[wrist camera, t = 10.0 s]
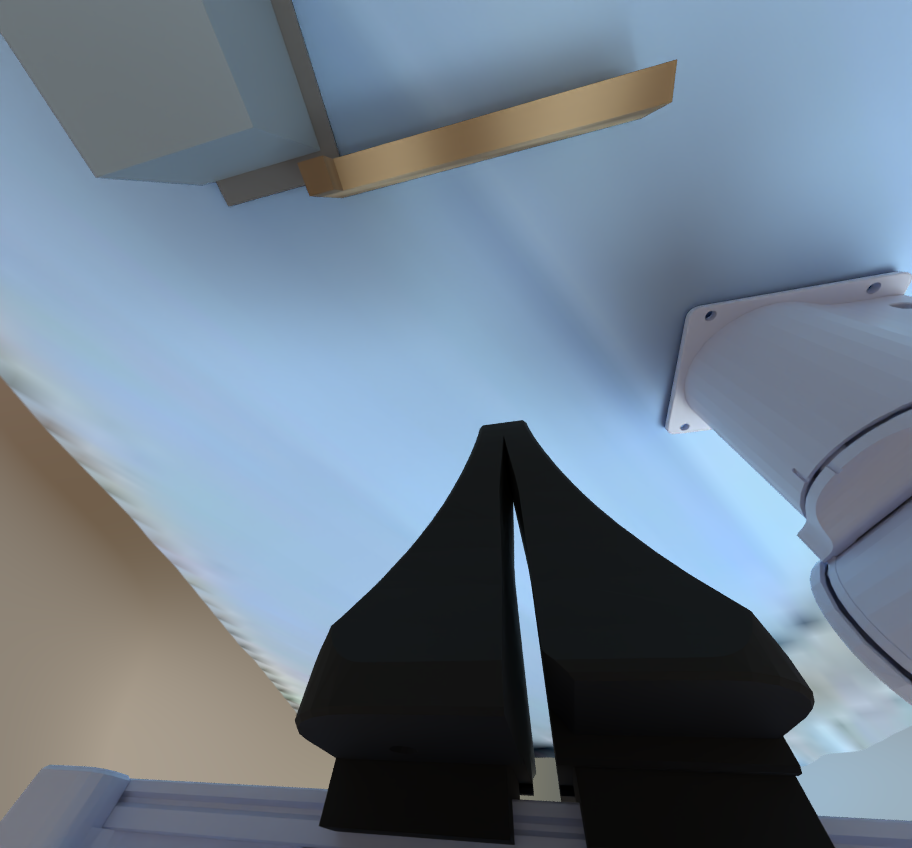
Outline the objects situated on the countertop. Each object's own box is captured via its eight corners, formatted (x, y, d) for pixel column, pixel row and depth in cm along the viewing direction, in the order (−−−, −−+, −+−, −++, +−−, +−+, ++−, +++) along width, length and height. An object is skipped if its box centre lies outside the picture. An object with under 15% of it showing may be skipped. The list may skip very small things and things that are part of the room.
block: (266, -12, 11) (146, -134, 7) (320, 150, 14) (253, 127, 10) (129, 43, 12) (-47, -38, 8) (202, 185, 15) (95, 177, 11)
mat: (273, -59, 11) (270, -62, 11) (345, 173, 14) (344, 173, 14) (130, 2, 12) (126, 0, 12) (229, 206, 15) (228, 206, 15)
